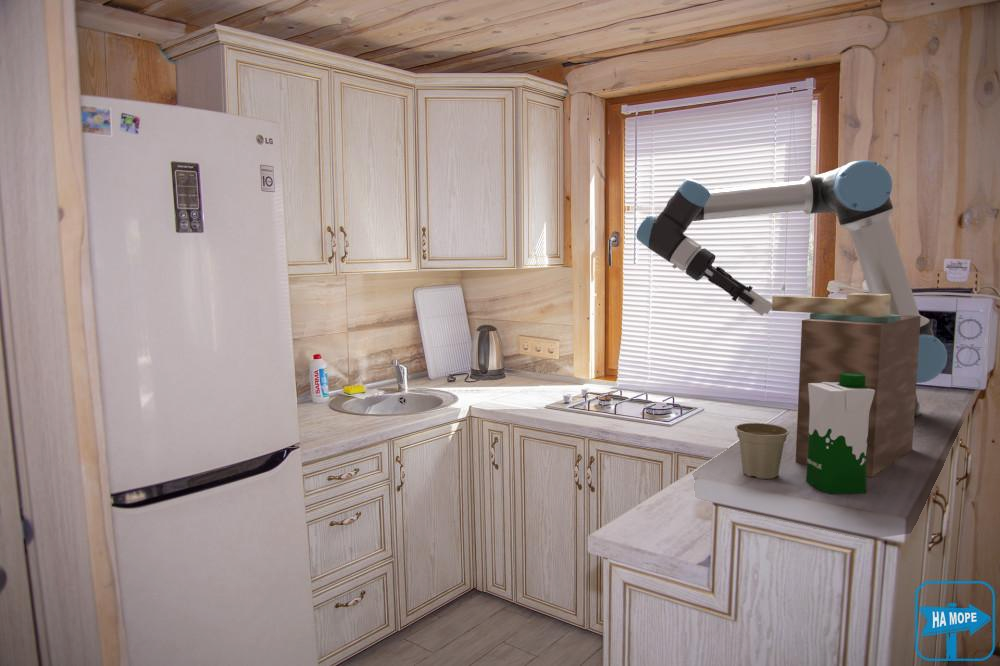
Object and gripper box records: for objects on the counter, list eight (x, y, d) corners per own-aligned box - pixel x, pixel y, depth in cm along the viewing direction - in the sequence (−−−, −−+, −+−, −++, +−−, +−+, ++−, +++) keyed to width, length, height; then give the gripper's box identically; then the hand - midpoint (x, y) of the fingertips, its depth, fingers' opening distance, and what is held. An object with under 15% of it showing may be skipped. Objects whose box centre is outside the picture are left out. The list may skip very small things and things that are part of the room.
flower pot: (761, 485, 126) (763, 437, 125) (722, 471, 134) (724, 426, 133) (798, 477, 130) (800, 431, 129) (758, 464, 138) (760, 420, 137)
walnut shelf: (795, 461, 140) (802, 314, 137) (841, 437, 158) (848, 307, 155) (872, 477, 130) (881, 319, 127) (912, 449, 149) (920, 311, 146)
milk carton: (874, 494, 121) (881, 378, 118) (823, 496, 120) (829, 379, 118) (845, 478, 129) (851, 369, 127) (797, 480, 129) (802, 370, 126)
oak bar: (768, 311, 146) (769, 291, 146) (780, 309, 151) (781, 290, 150) (879, 317, 132) (881, 295, 131) (889, 315, 136) (890, 294, 136)
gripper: (693, 273, 186) (763, 321, 179) (674, 271, 164) (752, 325, 157) (710, 249, 184) (781, 296, 177) (693, 243, 161) (774, 297, 155)
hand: (768, 310), depth 167 cm, fingers open, 13 cm apart
